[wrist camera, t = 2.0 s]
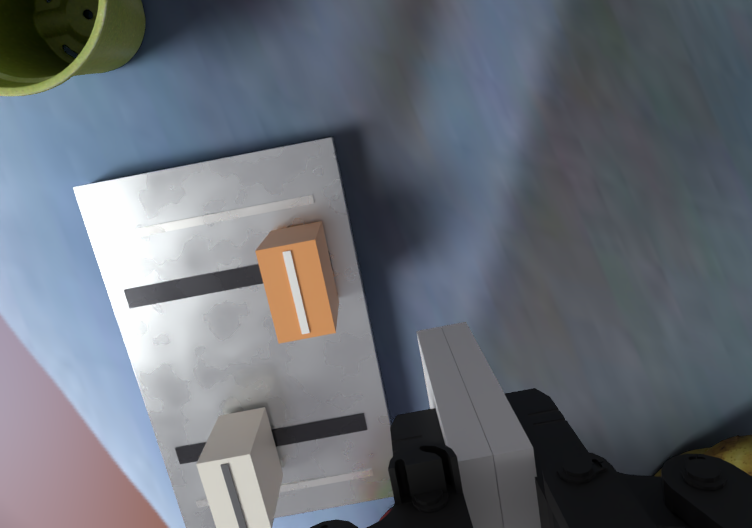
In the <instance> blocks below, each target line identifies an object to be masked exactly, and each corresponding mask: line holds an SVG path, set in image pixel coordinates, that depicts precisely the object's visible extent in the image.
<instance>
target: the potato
mask: <svg viewBox="0 0 752 528" xmlns="http://www.w3.org/2000/svg"><path fill="white" fill-rule="evenodd" d="M683 454H705V455H709V456H713V457H717V458H720V459H722V460H724V461H727V462H729V463H731V464H733V465H735V466H736V467H738V468H739V469H741V470H743V471H744V472H746V473H747V474H749V475H750V476H752V435H746V436H738V435H737V436H734V437H731V438H728V439H726V440H722V441H721V442H719V443H717V444H716V445H714V446H713V447H710V448H703V449H696V450H692V451H688V452H685V453H682V454H680V455H683ZM661 469H662V468H661ZM661 469H660V470H659V471H658V472H657V473H656V474H655V475H654V476H660V477H662V476H661Z"/></svg>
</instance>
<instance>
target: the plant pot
mask: <svg viewBox="0 0 752 528" xmlns="http://www.w3.org/2000/svg"><path fill="white" fill-rule="evenodd" d="M87 9H88V10H89V11H91V12H92V14H93V17H92V19H86V18H85V17H84V15H83V12H84V11H85V10H87ZM144 32H145V14H144V10H143V5H142V2H141V0H51V2H49V3H47V2H46V0H0V96H26V95H31V94H37V93H40V92H44V91H47V90H49V89H52V88H54V87H56V86H58V85H60V84H62V83H64V82H65V81H67V80H68V79H70V78H71V77H72V76H76V75H84V74H93V73H104V72H108V71H111V70H114V69H117V68H119V67H121V66H123V65H124V64H125V63H127V62H128V61H129V60H130V59H131V58H132V57H133V56H134V55H135V53H136V52H137V50H138V49H139V47H140V45H141V43H142V40H143V37H144ZM63 45H66V46H67V47H69V48H70V49H71V50H72V51H74V52H76V53H78V54H79V55H78V57H77V58H76V59H75V58H73V57H72V56H70V55H68V54H67V53H66V52H64V49H63V48H62V46H63Z"/></svg>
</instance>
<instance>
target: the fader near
mask: <svg viewBox="0 0 752 528" xmlns="http://www.w3.org/2000/svg"><path fill="white" fill-rule="evenodd" d="M255 252H256V256H257V260H258V264H259V268H260V272H261V276H262V280H263V284H264V288H265V292H266V296H267V300H268V304H269V307H270V311H271V315H272V319H273V323H274V327H275V331H276V335H277V339H278V343H279V344H280V343H285V342H290V341H296V340H301V339H306V338H312V337H317V336H322V335H328V334H333V333H336V327H337V317H338V308H339V298H338V294H337V289H336V284H335V280H334V275H333V271H332V266H331V261H330V257H329V252H328V247H327V243H326V238H325V234H324V229H323V224H322V221H319V222H314V223H309V224H304V225H298V226H293V227H288V228H283V229H277V230H272V231H270V233H269V234H268V235H267V236H266V238H265V239H264V240H263V242H262V243H261V244H260V245H259V247H258V248H257V249H256V251H255Z"/></svg>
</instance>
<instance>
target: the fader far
mask: <svg viewBox="0 0 752 528" xmlns="http://www.w3.org/2000/svg"><path fill="white" fill-rule="evenodd" d="M196 465H197V468H198V472H199V475H200V478H201V481H202V484H203V487H204V491H205V494H206V497H207V500H208V503H209V506H210V510H211V513H212V516H213V519H214V522H215V525H216V528H272V525H273V520H274V515H275V511H276V506H277V501H278V496H279V492H280V487H281V482H282V478H283V472H282V468H281V464H280V460H279V457H278V453H277V449H276V445H275V442H274V438H273V434H272V431H271V427H270V423H269V419H268V416H267V412H266V408H265V407H263V408H258V409H253V410H247V411H242V412H236V413H231V414H226V415H220V416H219V417H218V419H217V421H216V423H215V425H214V427H213V429H212V431H211V434H210V436H209V438H208V440H207V442H206V444H205V446H204V448H203V451H202V453H201V455H200V457H199V459H198V461H197V463H196Z"/></svg>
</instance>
